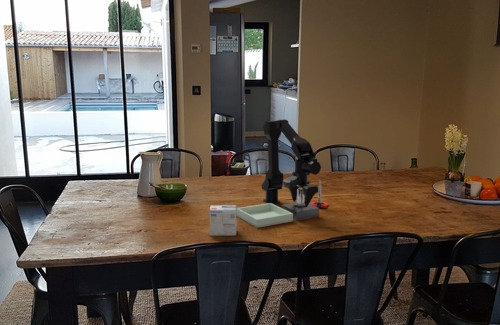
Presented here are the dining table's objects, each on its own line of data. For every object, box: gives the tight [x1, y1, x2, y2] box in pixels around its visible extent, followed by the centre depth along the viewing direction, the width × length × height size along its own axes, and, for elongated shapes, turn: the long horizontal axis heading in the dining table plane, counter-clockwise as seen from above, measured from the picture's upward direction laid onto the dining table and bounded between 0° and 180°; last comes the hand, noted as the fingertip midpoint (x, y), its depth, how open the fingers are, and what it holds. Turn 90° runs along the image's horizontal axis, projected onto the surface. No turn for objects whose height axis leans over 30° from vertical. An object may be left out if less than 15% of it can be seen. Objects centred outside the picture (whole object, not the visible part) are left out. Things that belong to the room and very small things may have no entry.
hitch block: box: [281, 201, 320, 221], centre depth 223 cm, size 12×12×4 cm
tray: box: [236, 203, 294, 229], centre depth 217 cm, size 18×18×4 cm
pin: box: [296, 187, 305, 208], centre depth 222 cm, size 3×3×12 cm
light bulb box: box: [209, 204, 238, 236], centre depth 198 cm, size 11×7×11 cm, turn 92°
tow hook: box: [310, 180, 329, 209], centre depth 237 cm, size 8×13×9 cm
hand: (300, 204), depth 222 cm, fingers open, 9 cm apart
